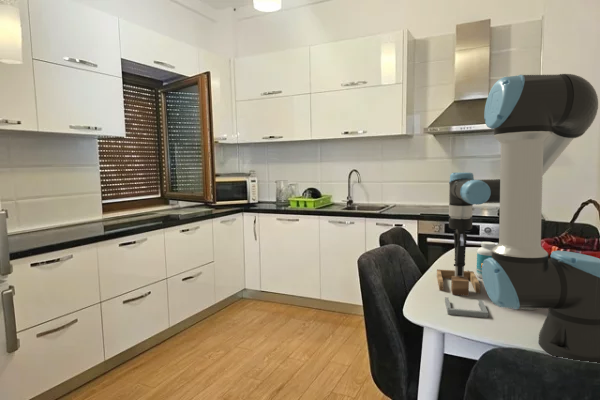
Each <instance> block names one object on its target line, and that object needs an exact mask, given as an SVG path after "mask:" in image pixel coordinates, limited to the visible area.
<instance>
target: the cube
mask: <svg viewBox="0 0 600 400" xmlns="http://www.w3.org/2000/svg"><path fill="white" fill-rule="evenodd" d="M450 281H451V282H450V283H451V287H450V289H451V290H450V291H451V294H452V295H453V296H464V297H465V296H466V297H469V296H470V295H469V288H470V280H468V278H467V277H459V276H452V279H450Z"/></svg>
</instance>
